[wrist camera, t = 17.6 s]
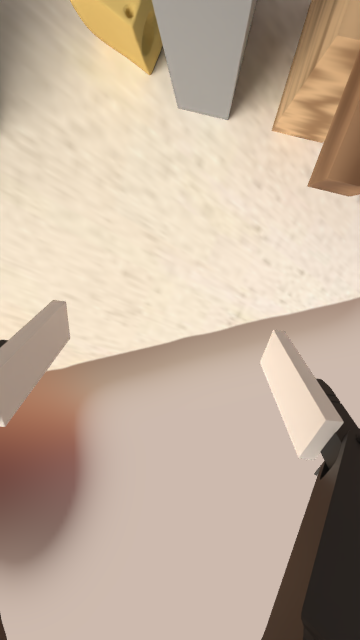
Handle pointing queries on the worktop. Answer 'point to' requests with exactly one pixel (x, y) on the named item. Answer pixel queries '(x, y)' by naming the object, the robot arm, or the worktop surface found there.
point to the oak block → (320, 69)
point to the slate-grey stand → (204, 50)
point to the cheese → (124, 28)
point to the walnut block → (342, 144)
